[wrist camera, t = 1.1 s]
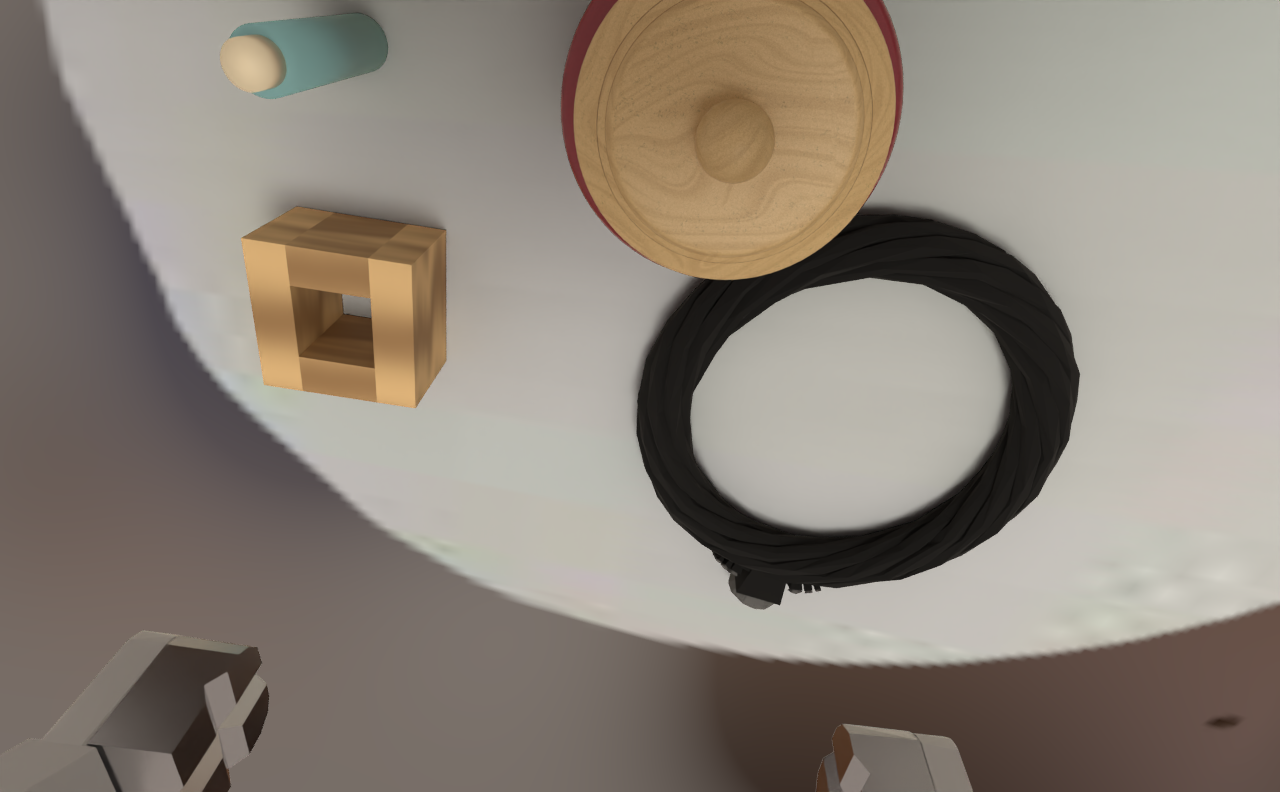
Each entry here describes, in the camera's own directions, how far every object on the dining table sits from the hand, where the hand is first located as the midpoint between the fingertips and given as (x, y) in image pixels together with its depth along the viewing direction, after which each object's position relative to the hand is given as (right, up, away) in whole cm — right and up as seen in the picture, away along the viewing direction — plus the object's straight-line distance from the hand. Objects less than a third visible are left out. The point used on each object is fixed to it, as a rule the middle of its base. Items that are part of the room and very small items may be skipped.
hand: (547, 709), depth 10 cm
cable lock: (+15, +3, +38) cm, 41 cm away
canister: (+5, +21, +27) cm, 35 cm away
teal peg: (-13, +23, +27) cm, 38 cm away
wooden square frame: (-15, +11, +34) cm, 39 cm away
